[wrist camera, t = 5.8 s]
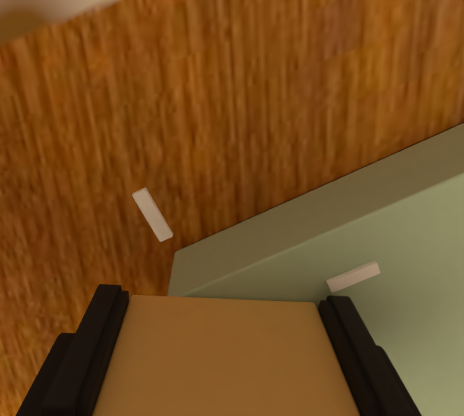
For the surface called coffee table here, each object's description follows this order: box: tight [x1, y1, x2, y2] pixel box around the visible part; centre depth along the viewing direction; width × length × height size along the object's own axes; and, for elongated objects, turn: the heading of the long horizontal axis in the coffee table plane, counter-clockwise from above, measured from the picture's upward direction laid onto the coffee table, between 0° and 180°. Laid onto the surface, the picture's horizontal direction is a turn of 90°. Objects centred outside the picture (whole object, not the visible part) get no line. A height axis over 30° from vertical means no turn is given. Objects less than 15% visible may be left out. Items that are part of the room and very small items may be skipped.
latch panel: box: [132, 123, 464, 416], centre depth 14 cm, size 21×20×3 cm
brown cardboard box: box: [92, 295, 360, 416], centre depth 9 cm, size 5×2×5 cm, turn 86°
